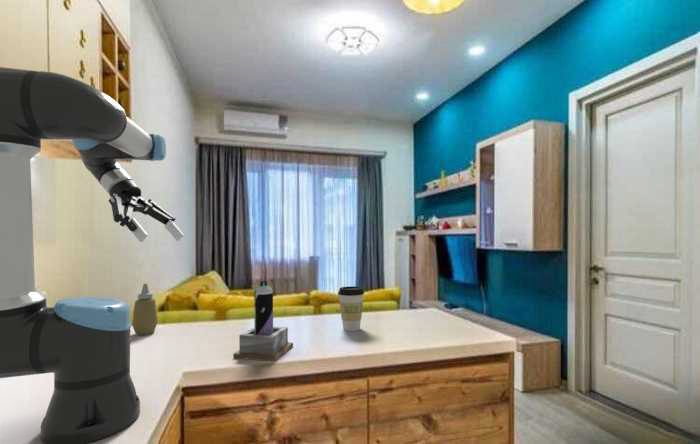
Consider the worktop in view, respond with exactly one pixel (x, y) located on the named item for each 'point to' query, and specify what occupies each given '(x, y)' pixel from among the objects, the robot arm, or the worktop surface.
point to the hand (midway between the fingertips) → (163, 238)
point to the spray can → (263, 309)
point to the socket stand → (263, 344)
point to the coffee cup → (351, 307)
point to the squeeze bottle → (145, 313)
